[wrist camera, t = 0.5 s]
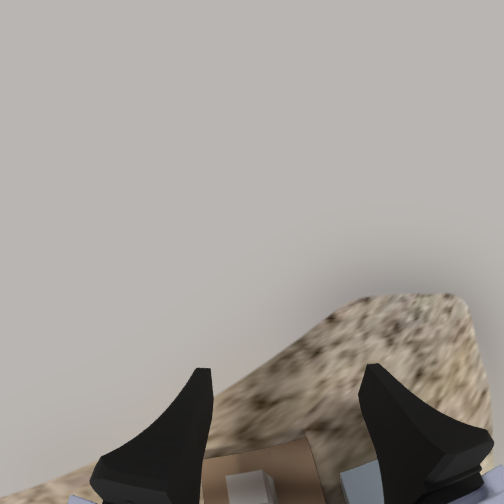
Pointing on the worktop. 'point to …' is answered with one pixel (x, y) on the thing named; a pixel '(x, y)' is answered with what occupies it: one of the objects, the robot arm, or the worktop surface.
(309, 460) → the brown base with post
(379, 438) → the robot arm
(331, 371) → the worktop surface
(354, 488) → the blue-grey block
